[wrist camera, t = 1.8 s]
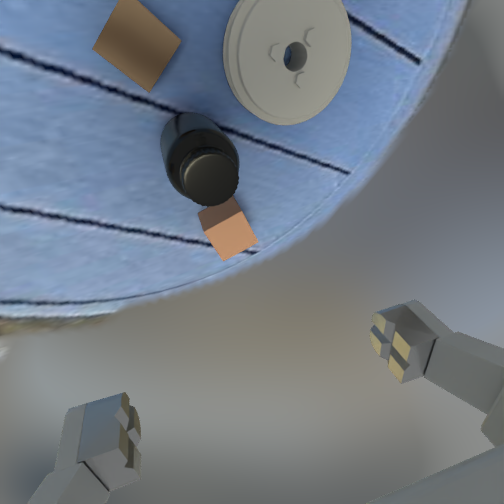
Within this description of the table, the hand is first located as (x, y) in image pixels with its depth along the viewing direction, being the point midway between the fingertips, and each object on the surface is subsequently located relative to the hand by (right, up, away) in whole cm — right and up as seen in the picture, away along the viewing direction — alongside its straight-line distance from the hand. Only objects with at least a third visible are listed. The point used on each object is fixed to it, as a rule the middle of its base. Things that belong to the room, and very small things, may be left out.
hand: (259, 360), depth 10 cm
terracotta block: (-4, +8, +32) cm, 33 cm away
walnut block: (-11, +23, +20) cm, 32 cm away
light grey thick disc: (+3, +24, +24) cm, 34 cm away
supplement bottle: (-7, +16, +26) cm, 31 cm away
